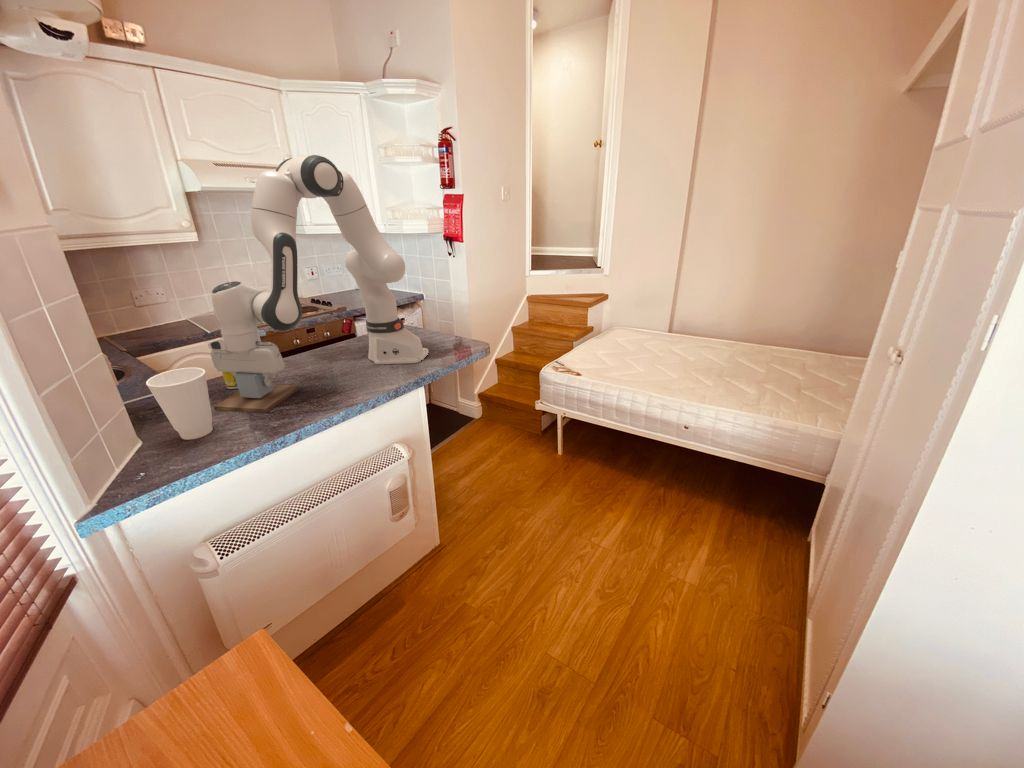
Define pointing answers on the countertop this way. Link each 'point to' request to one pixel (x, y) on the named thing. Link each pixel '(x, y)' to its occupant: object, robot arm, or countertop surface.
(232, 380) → the supplement bottle
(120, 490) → the countertop surface
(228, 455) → the countertop surface
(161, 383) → the cup
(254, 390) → the pale grey cube
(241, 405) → the post base
